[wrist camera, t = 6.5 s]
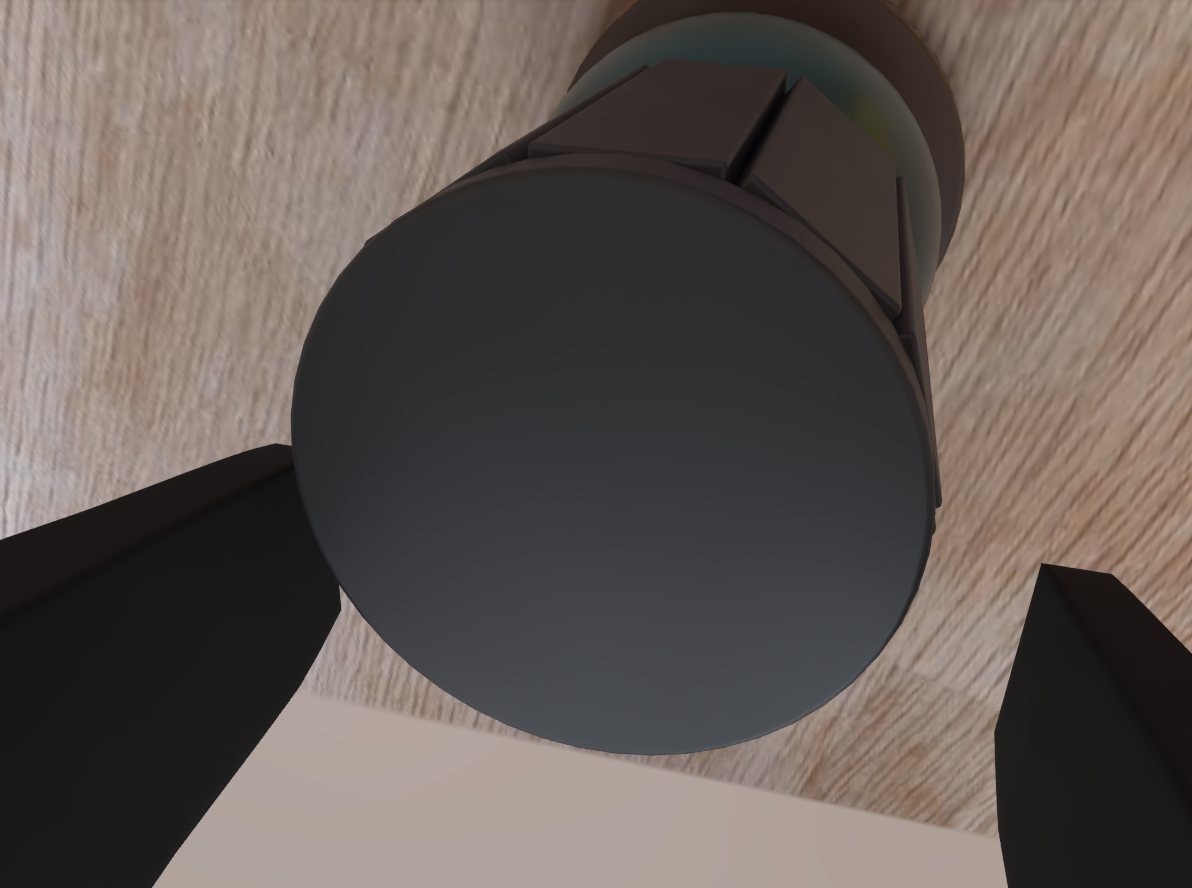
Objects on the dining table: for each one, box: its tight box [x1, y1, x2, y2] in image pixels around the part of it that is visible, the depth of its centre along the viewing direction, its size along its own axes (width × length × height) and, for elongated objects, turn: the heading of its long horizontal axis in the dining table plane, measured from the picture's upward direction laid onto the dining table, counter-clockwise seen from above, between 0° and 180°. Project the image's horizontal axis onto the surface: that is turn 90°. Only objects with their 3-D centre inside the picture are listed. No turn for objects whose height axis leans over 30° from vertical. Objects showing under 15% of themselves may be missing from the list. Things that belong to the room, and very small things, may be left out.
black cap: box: [291, 59, 942, 755], centre depth 11 cm, size 5×5×6 cm
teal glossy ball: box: [547, 0, 965, 308], centre depth 16 cm, size 7×7×7 cm
